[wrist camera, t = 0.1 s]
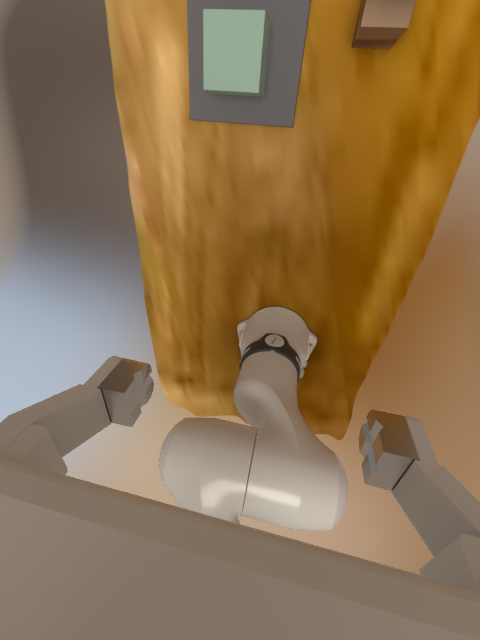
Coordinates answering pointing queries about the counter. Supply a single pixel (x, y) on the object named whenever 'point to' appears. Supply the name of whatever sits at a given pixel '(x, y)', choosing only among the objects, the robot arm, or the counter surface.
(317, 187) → the counter surface
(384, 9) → the walnut block
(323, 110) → the counter surface
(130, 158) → the counter surface
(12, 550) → the robot arm
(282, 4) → the mat
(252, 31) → the sage brick
